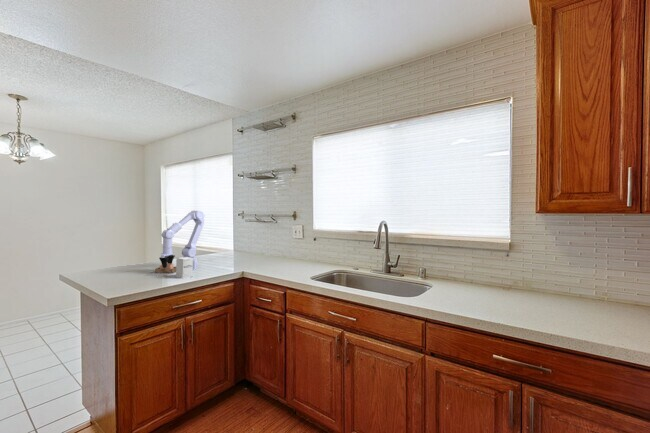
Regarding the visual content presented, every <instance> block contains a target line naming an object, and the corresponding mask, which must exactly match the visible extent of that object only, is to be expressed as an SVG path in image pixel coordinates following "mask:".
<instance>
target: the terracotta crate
mask: <svg viewBox="0 0 650 433" xmlns="http://www.w3.org/2000/svg"><path fill="white" fill-rule="evenodd" d="M159 267H160V269H173V268H174V267H175V264H174V263H172V264H168V263H167V267H166V268H163V267H162V263H160V264H159Z"/></svg>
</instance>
